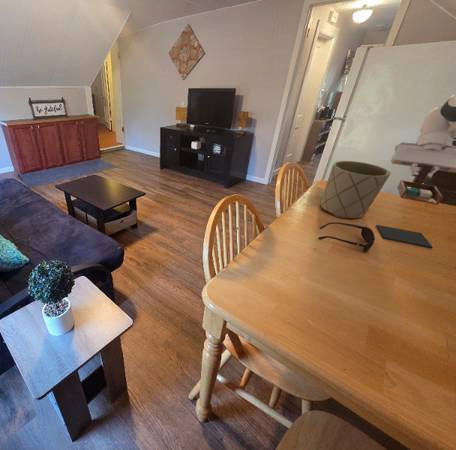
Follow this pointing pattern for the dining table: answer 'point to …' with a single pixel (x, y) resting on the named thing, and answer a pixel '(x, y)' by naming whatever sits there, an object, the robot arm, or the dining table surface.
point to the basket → (420, 187)
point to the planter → (352, 188)
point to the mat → (403, 236)
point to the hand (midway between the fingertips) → (421, 176)
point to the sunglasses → (365, 233)
